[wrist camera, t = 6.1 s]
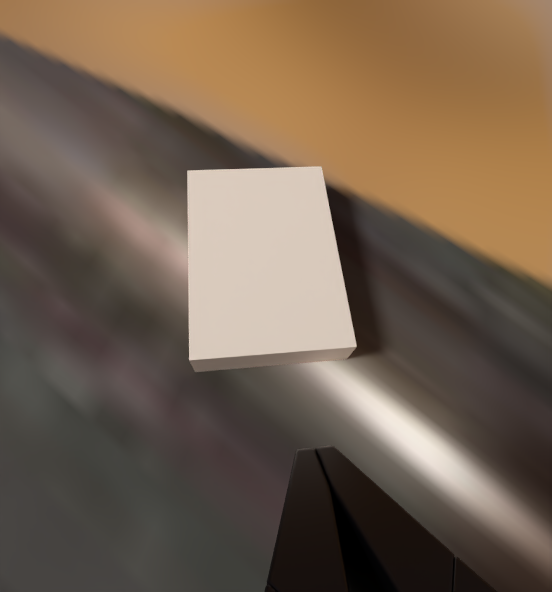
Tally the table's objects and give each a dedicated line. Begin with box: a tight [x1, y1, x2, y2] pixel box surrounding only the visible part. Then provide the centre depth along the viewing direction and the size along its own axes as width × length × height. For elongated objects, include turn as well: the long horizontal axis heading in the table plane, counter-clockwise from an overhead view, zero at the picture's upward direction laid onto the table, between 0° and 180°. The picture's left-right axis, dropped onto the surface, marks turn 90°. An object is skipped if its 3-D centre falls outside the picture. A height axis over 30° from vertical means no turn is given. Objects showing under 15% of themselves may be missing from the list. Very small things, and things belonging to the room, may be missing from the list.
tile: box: [187, 167, 357, 372], centre depth 19 cm, size 2×7×10 cm
